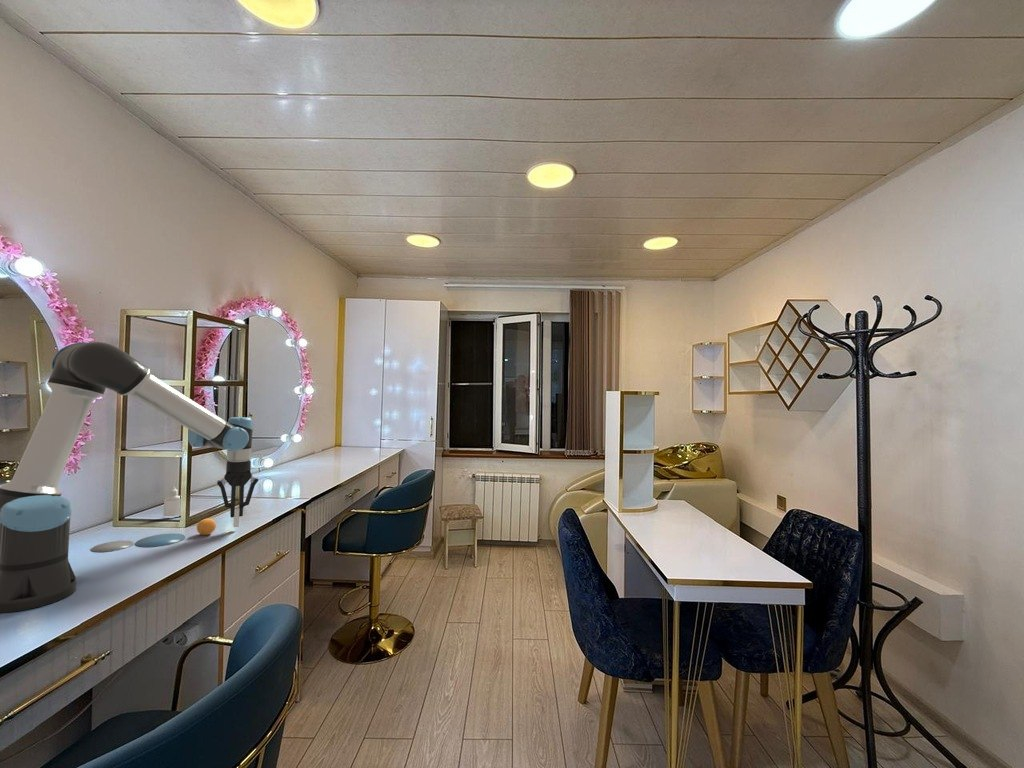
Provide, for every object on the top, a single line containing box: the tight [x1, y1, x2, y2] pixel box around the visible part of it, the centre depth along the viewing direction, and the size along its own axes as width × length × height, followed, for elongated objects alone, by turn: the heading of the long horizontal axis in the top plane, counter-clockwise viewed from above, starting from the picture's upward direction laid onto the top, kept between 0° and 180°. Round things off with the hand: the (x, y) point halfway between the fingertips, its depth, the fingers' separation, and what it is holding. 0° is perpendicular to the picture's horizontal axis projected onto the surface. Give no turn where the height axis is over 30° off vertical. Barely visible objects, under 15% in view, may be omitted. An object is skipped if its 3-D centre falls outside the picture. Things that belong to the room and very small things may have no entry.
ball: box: [196, 518, 217, 536], centre depth 156 cm, size 6×6×6 cm
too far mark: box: [90, 540, 134, 553], centre depth 142 cm, size 10×10×1 cm
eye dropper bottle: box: [163, 486, 181, 517], centre depth 174 cm, size 4×6×12 cm
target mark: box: [135, 532, 186, 548], centre depth 149 cm, size 13×13×1 cm
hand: (236, 525), depth 161 cm, fingers closed
